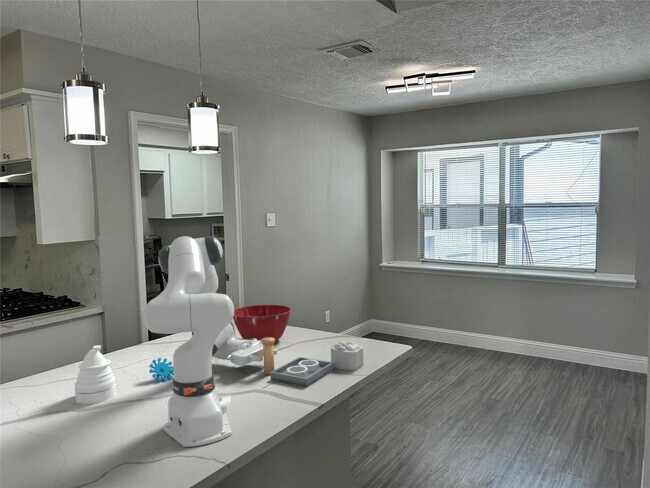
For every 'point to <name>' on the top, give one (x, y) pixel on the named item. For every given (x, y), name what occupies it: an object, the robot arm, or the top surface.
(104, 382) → the honey pot
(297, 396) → the top surface
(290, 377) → the tray
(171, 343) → the top surface
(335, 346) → the lumpy-topped squat cylinder
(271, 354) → the round-headed peg
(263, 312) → the mixing bowl
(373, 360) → the top surface
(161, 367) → the blue knobbed disc
